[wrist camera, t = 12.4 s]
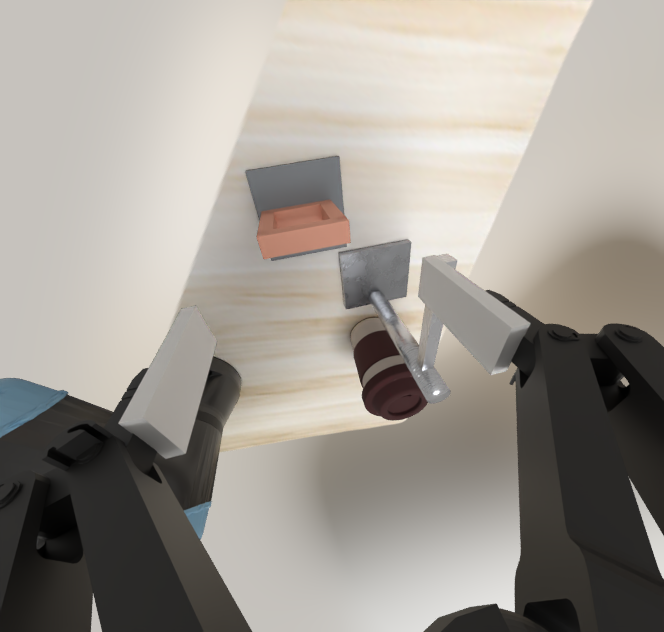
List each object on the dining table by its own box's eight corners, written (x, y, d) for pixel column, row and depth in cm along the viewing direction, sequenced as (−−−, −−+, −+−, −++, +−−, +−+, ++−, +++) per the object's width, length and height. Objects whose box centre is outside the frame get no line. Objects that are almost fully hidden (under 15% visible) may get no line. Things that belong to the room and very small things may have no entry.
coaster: (271, 258, 31) (271, 260, 31) (245, 170, 25) (245, 171, 24) (345, 244, 32) (346, 246, 31) (337, 156, 26) (339, 156, 25)
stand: (344, 306, 38) (388, 414, 23) (334, 214, 29) (395, 293, 15) (403, 294, 39) (483, 391, 24) (411, 201, 30) (543, 262, 15)
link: (266, 229, 28) (263, 259, 21) (261, 211, 27) (256, 237, 20) (332, 217, 29) (350, 242, 22) (330, 199, 28) (348, 220, 20)
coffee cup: (370, 358, 47) (402, 432, 35) (331, 341, 42) (353, 419, 30) (406, 324, 43) (455, 393, 31) (368, 300, 38) (408, 372, 27)
